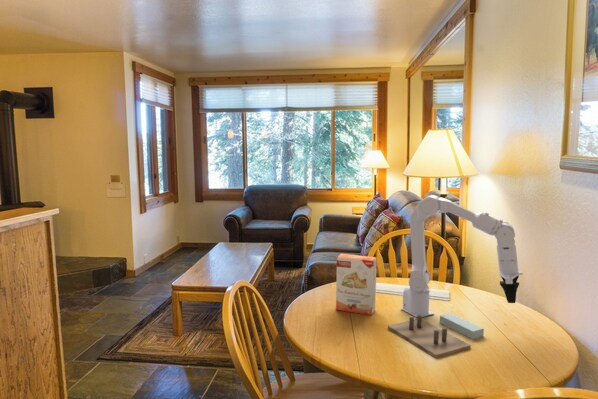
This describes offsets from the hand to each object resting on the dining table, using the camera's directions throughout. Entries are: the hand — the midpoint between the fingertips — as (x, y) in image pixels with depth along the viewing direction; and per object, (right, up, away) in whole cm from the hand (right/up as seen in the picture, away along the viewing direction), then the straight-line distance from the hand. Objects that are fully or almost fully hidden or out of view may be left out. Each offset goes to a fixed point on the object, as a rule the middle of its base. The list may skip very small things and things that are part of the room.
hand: (511, 298), depth 134 cm
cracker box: (-50, -9, +17) cm, 54 cm away
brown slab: (-30, -11, -6) cm, 33 cm away
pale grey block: (-17, -11, +1) cm, 20 cm away
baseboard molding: (-24, -7, +36) cm, 44 cm away
